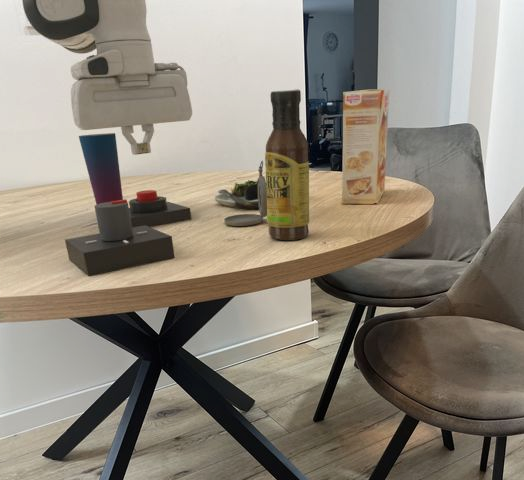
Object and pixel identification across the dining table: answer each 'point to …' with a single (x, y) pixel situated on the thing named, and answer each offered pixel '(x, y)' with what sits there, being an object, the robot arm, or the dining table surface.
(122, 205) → the timer knob
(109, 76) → the robot arm
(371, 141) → the coffeecake box
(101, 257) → the panel
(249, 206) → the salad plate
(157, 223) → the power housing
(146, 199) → the power button
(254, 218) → the pocket watch
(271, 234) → the sauce bottle
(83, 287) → the dining table surface
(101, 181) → the cup
